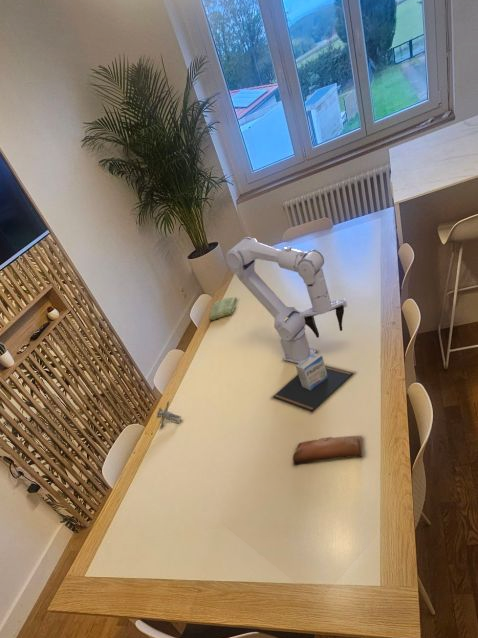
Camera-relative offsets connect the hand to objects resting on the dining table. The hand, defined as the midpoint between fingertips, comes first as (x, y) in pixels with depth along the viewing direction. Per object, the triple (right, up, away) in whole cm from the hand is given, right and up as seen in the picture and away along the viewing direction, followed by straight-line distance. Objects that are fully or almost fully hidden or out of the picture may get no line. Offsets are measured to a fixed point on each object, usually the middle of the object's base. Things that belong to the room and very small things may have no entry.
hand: (329, 332), depth 135 cm
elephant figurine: (-54, -27, +18) cm, 63 cm away
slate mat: (-5, -17, +1) cm, 18 cm away
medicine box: (-4, -16, +1) cm, 17 cm away
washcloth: (-37, +33, +71) cm, 87 cm away
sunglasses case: (-5, -40, -22) cm, 46 cm away
